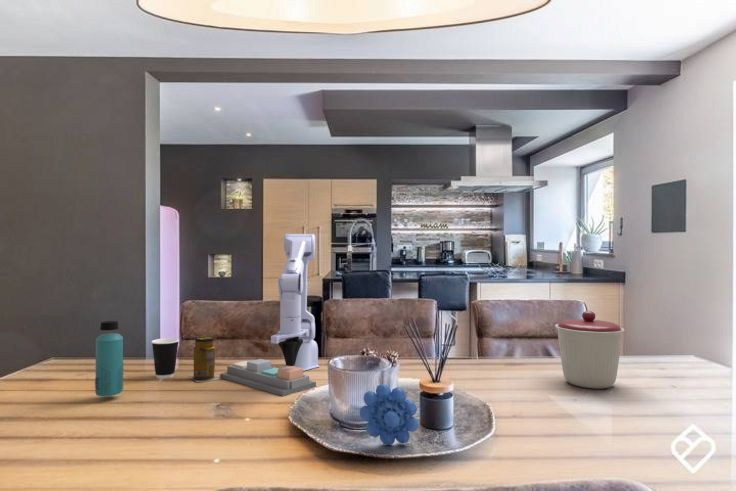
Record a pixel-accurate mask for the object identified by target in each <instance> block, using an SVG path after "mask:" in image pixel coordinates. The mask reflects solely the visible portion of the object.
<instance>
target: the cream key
mask: <svg viewBox="0 0 736 491" xmlns="http://www.w3.org/2000/svg"><path fill="white" fill-rule="evenodd" d="M248 361H249V360H245V361H244V360H243V361H239V362H234V363H232V364H233V366H235V367H238V368H242V369H243V368H247V362H248Z"/></svg>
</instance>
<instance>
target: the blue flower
mask: <svg viewBox="0 0 736 491" xmlns="http://www.w3.org/2000/svg"><path fill="white" fill-rule="evenodd" d="M363 402H364V403H365V405H364V406H361V407H360V410H359V417H360V419H361V420H362V421H364V422H366V426H365V431H366V433H367V434H368V436H370V437H372V438H377V437H379V439H380V442H381V443H382V444H383V445H384V444H386V445H385V446H387V445H390V446H392V445H394V444H393V443H395V442H396V441H397V442H398V443H399V444H403V443H405V444H406V443H408V442H409V441H410V436H411V435H410V433H414V432H416V431H417V430H418V428H419V423H418V419H417V418H416V417H414V416H415V415H416V414H417V412H418V407H417V404H416V403H415V402H414V401H413V400H410V399H407V394H406V392H405V390H404V389H403V388H401V387H397V386H396V387H395V388H393V389H392V390H391V388H390V386H389V385H388V384H384V383H380V384H379V385H377V386H376V390H375V392H374V391H371V390H368V391H366V392H365V393H364V395H363ZM395 440H396V441H395ZM391 444H392V445H391Z"/></svg>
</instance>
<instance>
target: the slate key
mask: <svg viewBox="0 0 736 491" xmlns="http://www.w3.org/2000/svg"><path fill="white" fill-rule="evenodd" d="M247 361H248V362H247V370H250V371H254V372H261V371H264V370H268V369H271V367H272V360H268V359H262V358H258V359H254V360H250V361H249V360H247Z"/></svg>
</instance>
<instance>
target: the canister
mask: <svg viewBox="0 0 736 491" xmlns="http://www.w3.org/2000/svg"><path fill="white" fill-rule="evenodd" d="M554 327H555V329H557V337H558V345H559V351H560V361H561V369H562V373H563V376H564V379H565V380H566V381H567V382H568V383H569V384H571V385H573V386H577V387H579V388H580V387H581V388H586V389H595V390H596V389H597V390H600V389H602V390H603V389H607V388H611V387H612V386H614V384H615V383H616V381H617V376H618V372H619V371H618V370H619V362H620V353H621V345H622V335H623V333H624V332H625V331H626V330H625V328H623V327H621V326H620V325H619V324H617V323H614V322H611V321H606V320H597V319H596V313H595V312H593V311H591V310H585V311H583V312H581V318H577V319H576V318H573V319H566V320H565V319H564V320H562V321H560V322H558V323H556V324H555V325H554Z"/></svg>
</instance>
